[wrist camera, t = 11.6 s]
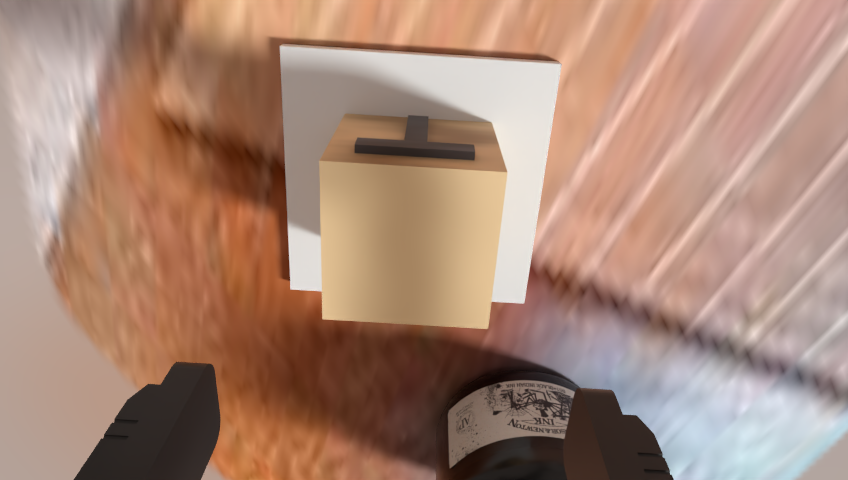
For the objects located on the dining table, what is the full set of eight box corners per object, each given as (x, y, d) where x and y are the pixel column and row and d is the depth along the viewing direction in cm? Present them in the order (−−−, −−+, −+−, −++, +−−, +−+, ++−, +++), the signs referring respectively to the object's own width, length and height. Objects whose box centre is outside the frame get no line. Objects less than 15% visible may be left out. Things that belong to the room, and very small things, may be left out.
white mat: (283, 43, 24) (279, 45, 23) (558, 61, 24) (561, 63, 23) (293, 282, 29) (290, 289, 28) (522, 296, 29) (524, 303, 28)
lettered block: (492, 115, 24) (508, 163, 19) (477, 258, 27) (487, 335, 22) (344, 106, 24) (319, 151, 19) (345, 250, 27) (322, 326, 22)
